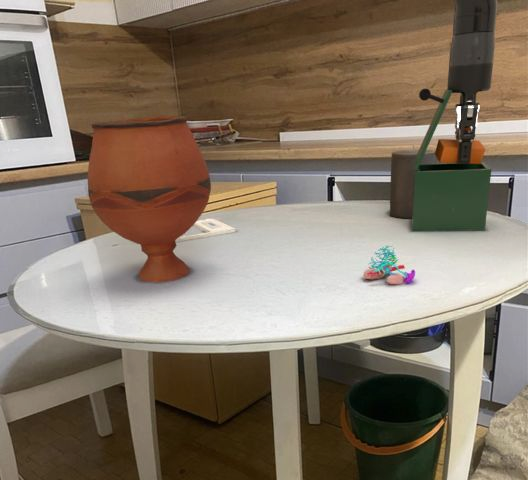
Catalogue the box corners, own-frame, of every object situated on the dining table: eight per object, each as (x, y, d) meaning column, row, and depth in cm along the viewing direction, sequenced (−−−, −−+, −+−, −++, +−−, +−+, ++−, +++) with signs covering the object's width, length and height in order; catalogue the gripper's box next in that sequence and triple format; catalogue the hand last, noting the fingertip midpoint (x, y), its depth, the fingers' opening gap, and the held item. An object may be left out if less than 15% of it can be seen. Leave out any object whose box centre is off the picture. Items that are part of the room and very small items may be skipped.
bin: (477, 219, 114) (483, 161, 109) (484, 232, 104) (491, 169, 99) (411, 220, 117) (414, 164, 112) (412, 233, 107) (415, 172, 102)
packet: (434, 154, 105) (438, 138, 103) (474, 155, 105) (479, 140, 103) (439, 162, 102) (444, 147, 100) (480, 164, 102) (485, 148, 100)
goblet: (93, 299, 83) (56, 125, 72) (121, 264, 100) (94, 120, 89) (216, 290, 83) (197, 115, 72) (222, 257, 100) (207, 112, 89)
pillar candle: (382, 217, 123) (383, 147, 116) (400, 209, 130) (402, 143, 123) (422, 220, 117) (427, 147, 111) (439, 211, 124) (444, 142, 118)
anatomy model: (386, 263, 74) (421, 248, 77) (348, 253, 80) (382, 239, 83) (388, 297, 76) (422, 281, 79) (352, 285, 83) (384, 270, 85)
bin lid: (448, 90, 105) (423, 81, 105) (452, 91, 95) (425, 80, 95) (416, 163, 112) (392, 154, 112) (416, 170, 102) (391, 160, 102)
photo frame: (235, 227, 117) (155, 241, 110) (235, 232, 118) (156, 246, 111) (211, 217, 129) (138, 229, 123) (212, 222, 130) (139, 233, 123)
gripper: (499, 59, 89) (487, 166, 96) (487, 63, 102) (478, 157, 109) (451, 63, 91) (444, 167, 98) (446, 66, 103) (440, 158, 111)
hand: (462, 161), depth 103 cm, fingers closed on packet, 5 cm apart
